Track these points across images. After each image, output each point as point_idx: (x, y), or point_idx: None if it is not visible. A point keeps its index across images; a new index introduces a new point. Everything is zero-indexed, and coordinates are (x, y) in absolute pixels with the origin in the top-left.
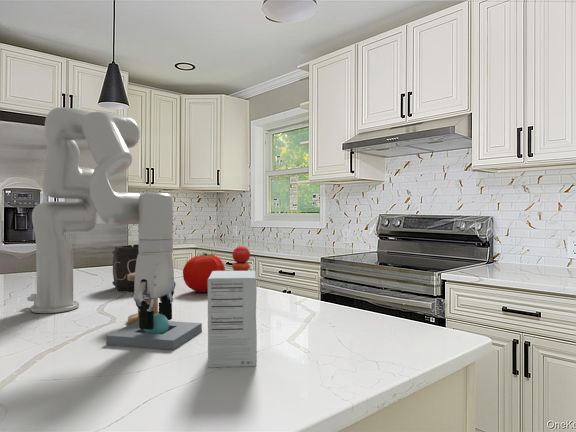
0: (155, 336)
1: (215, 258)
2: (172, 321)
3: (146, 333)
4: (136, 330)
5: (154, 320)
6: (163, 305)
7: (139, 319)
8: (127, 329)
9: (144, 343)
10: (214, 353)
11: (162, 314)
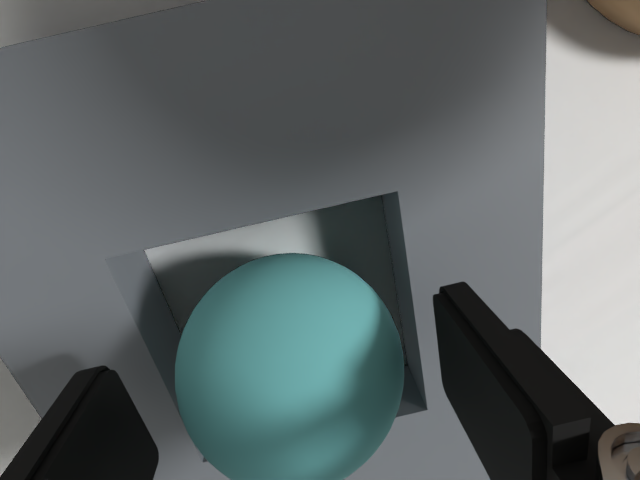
0: None
1: None
2: (535, 299)
3: (148, 368)
4: (157, 237)
5: (209, 461)
6: (517, 463)
7: (25, 444)
8: (128, 122)
9: None
10: None
11: (355, 464)
